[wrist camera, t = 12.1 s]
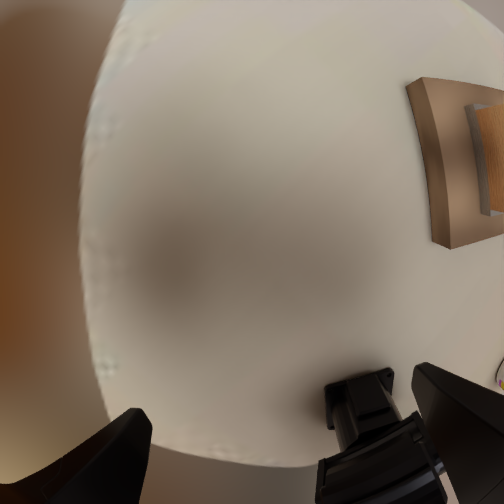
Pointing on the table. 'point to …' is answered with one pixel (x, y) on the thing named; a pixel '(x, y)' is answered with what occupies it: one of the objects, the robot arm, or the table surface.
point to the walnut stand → (452, 159)
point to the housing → (488, 154)
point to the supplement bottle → (501, 376)
